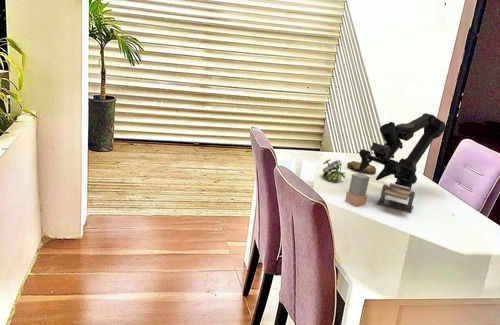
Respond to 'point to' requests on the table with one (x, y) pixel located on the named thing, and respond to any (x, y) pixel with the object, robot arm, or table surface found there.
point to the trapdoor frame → (395, 204)
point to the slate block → (359, 184)
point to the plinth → (355, 199)
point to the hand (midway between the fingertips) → (367, 176)
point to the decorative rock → (356, 165)
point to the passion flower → (334, 167)
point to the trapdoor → (397, 191)
